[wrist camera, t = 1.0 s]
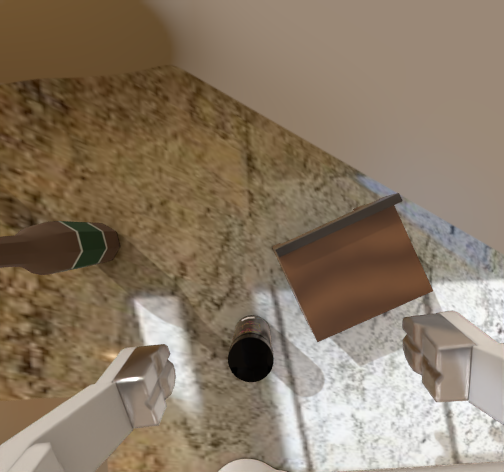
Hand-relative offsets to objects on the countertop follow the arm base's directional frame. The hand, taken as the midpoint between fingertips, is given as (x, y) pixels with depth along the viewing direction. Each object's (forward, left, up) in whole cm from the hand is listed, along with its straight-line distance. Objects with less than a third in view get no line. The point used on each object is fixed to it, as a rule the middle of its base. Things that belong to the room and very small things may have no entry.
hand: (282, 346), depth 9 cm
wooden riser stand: (-7, -11, -39) cm, 41 cm away
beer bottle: (+14, +27, -39) cm, 50 cm away
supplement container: (-13, +8, -39) cm, 42 cm away
